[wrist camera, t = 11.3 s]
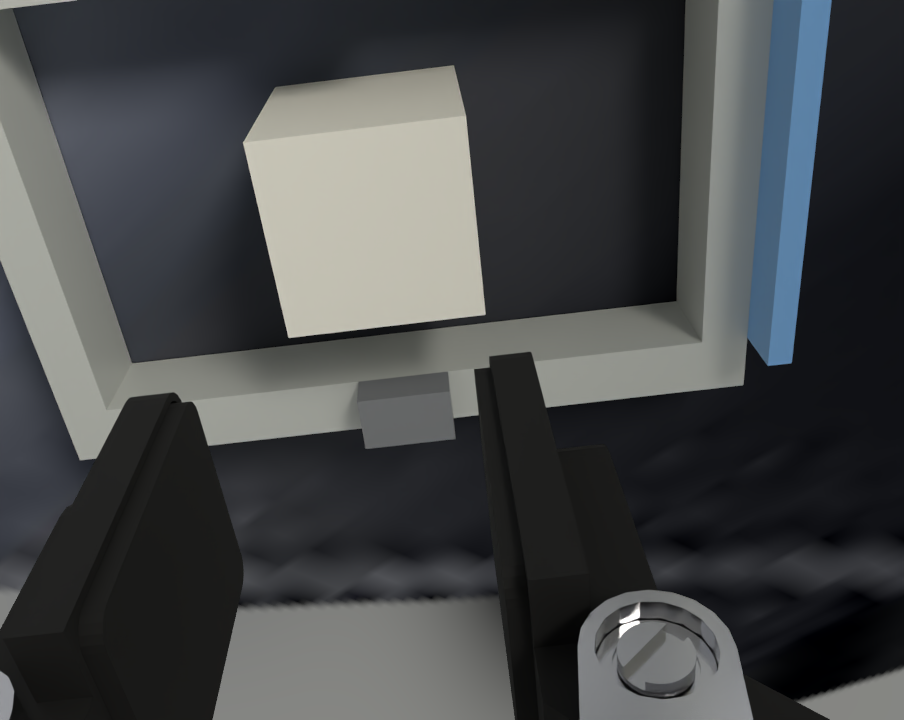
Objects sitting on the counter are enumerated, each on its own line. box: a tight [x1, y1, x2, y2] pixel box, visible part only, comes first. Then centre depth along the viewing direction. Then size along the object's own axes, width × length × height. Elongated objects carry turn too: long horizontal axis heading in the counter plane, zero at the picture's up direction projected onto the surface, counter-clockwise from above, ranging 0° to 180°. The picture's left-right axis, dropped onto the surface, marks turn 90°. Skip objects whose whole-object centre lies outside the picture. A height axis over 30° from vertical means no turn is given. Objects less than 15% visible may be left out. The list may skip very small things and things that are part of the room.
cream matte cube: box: [243, 65, 486, 338], centre depth 21 cm, size 4×4×5 cm
